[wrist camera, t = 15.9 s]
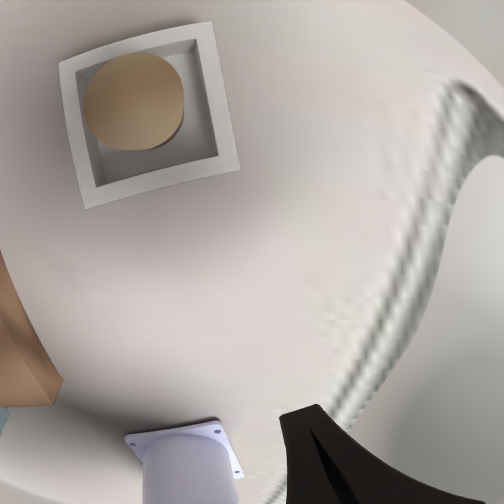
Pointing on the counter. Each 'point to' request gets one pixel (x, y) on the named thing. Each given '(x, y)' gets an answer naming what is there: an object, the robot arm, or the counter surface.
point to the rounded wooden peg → (135, 102)
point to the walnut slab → (22, 354)
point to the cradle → (184, 142)
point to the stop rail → (3, 418)
